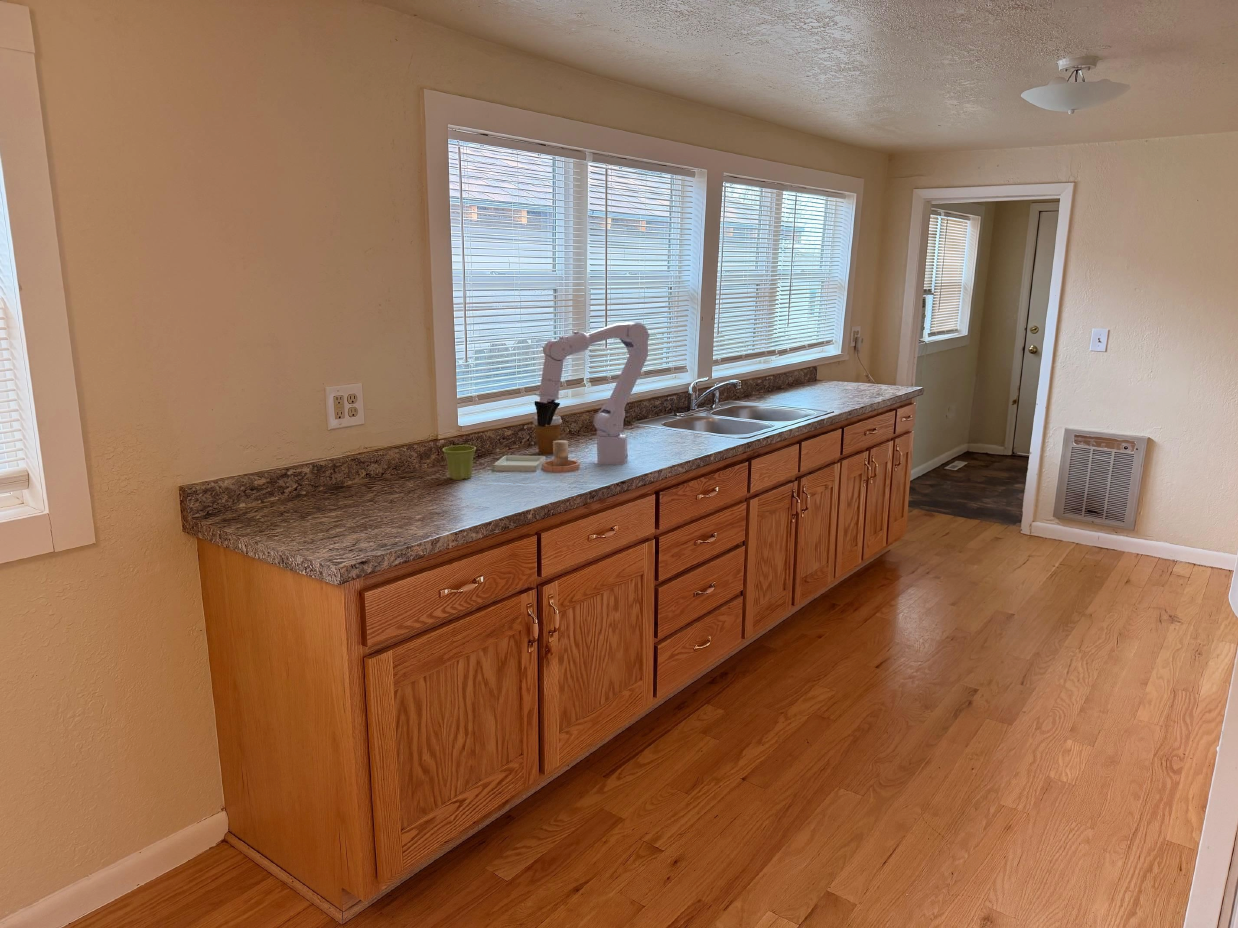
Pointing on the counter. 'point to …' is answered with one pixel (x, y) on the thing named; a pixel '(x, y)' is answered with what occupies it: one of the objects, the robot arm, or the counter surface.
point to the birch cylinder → (560, 453)
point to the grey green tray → (519, 463)
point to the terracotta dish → (550, 466)
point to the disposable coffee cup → (547, 435)
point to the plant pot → (459, 461)
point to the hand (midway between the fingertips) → (544, 425)
